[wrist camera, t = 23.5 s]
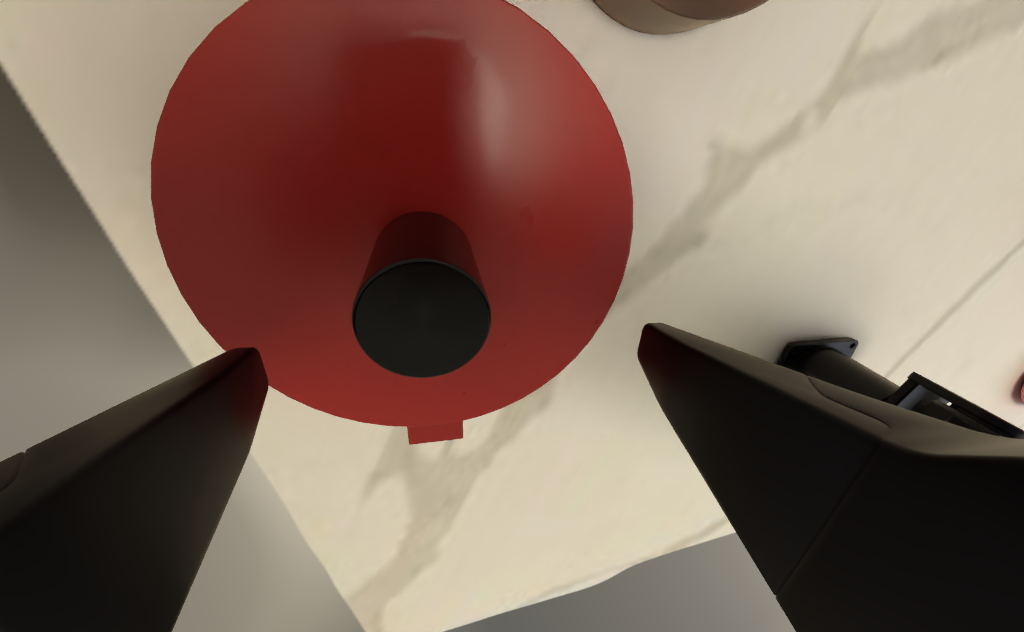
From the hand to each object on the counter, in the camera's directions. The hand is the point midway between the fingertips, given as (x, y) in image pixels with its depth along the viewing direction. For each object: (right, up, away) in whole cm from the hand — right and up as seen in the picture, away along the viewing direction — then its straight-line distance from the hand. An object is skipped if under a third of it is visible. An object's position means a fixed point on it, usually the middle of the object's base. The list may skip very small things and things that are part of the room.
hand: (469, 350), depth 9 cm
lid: (-2, +3, +3) cm, 5 cm away
